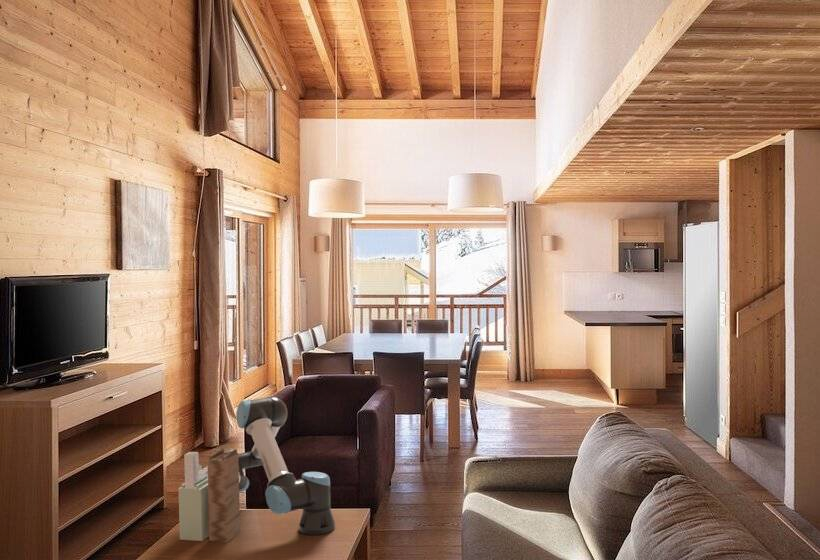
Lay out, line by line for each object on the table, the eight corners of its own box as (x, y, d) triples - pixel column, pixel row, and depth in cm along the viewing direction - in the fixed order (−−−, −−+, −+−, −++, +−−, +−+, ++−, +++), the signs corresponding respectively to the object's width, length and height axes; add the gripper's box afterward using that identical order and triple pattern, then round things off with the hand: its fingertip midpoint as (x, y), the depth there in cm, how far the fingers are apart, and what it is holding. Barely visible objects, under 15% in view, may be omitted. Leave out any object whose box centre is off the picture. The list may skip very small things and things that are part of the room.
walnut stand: (240, 531, 272) (238, 449, 272) (227, 542, 261) (225, 456, 261) (222, 530, 274) (220, 448, 274) (209, 540, 263) (207, 456, 263)
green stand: (216, 529, 275) (215, 476, 275) (202, 541, 263) (200, 485, 263) (195, 528, 277) (193, 475, 277) (179, 539, 265) (178, 484, 265)
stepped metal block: (209, 473, 284) (209, 441, 284) (218, 474, 283) (217, 442, 283) (185, 488, 264) (184, 454, 264) (194, 489, 264) (193, 454, 264)
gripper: (252, 487, 293) (232, 476, 274) (202, 484, 298) (179, 473, 279) (255, 470, 296) (236, 458, 278) (206, 468, 301) (184, 456, 283)
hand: (208, 466), depth 279 cm, fingers open, 13 cm apart
